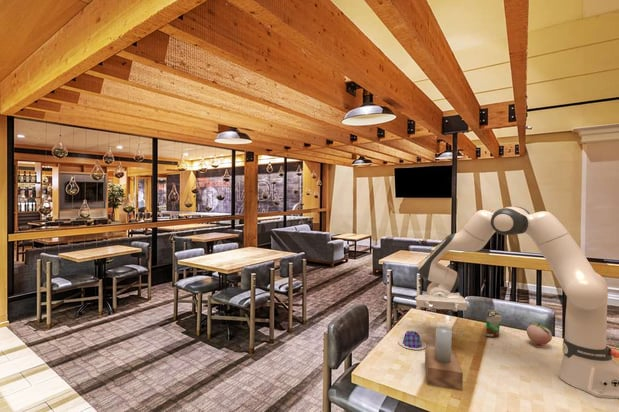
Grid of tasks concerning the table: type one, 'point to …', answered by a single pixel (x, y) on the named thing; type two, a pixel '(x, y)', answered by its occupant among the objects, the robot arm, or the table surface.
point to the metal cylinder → (443, 344)
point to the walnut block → (443, 371)
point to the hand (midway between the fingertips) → (442, 308)
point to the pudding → (412, 341)
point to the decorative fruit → (539, 334)
